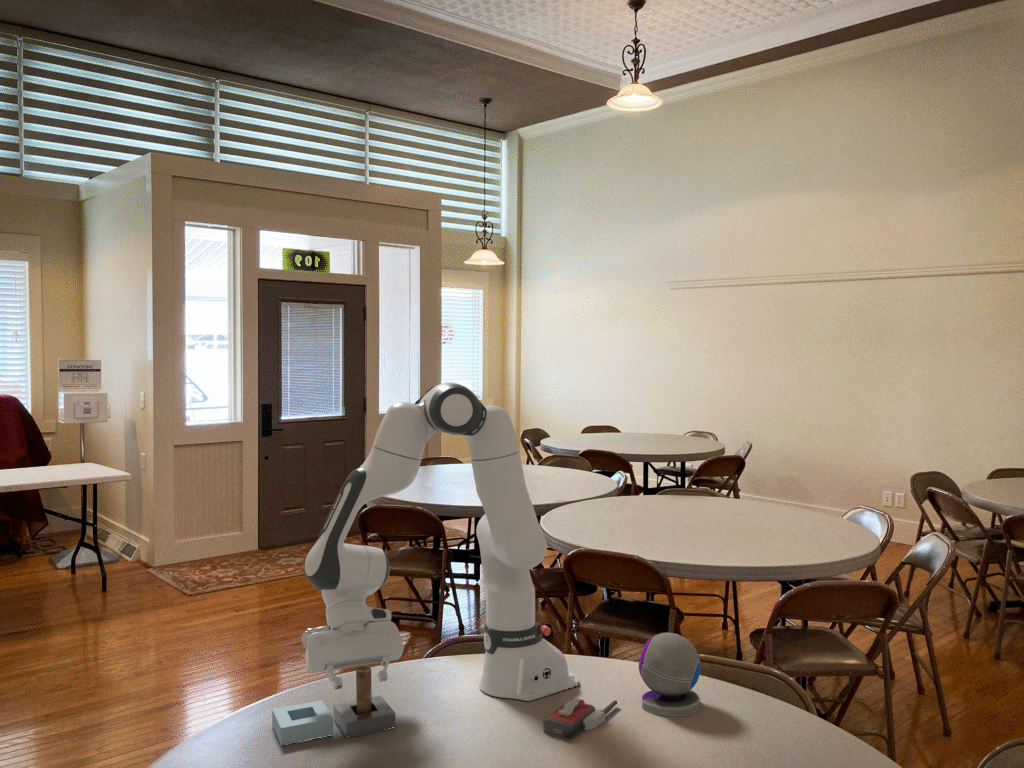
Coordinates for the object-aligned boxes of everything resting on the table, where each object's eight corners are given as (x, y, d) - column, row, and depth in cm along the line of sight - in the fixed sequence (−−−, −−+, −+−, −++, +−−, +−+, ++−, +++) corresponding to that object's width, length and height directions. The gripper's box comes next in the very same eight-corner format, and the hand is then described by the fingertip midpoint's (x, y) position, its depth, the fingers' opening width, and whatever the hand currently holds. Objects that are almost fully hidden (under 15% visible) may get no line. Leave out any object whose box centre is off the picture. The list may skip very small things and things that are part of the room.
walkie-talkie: (578, 746, 156) (620, 709, 173) (577, 723, 156) (620, 688, 173) (537, 736, 161) (583, 701, 178) (537, 713, 161) (583, 680, 178)
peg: (369, 719, 169) (368, 665, 168) (373, 724, 166) (373, 670, 166) (355, 721, 167) (354, 668, 167) (358, 727, 165) (358, 673, 164)
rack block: (321, 716, 170) (321, 700, 170) (333, 735, 161) (333, 718, 161) (272, 726, 166) (272, 708, 166) (281, 746, 157) (281, 728, 156)
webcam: (648, 688, 184) (648, 622, 183) (706, 698, 178) (706, 629, 178) (632, 710, 172) (631, 639, 172) (693, 721, 166) (692, 647, 166)
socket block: (381, 709, 173) (380, 695, 173) (395, 727, 164) (395, 713, 164) (333, 718, 169) (333, 704, 169) (346, 737, 160) (345, 722, 160)
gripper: (302, 622, 170) (312, 685, 161) (397, 609, 179) (411, 668, 170) (297, 637, 174) (307, 699, 165) (391, 624, 183) (405, 683, 174)
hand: (361, 684), depth 168 cm, fingers open, 8 cm apart
